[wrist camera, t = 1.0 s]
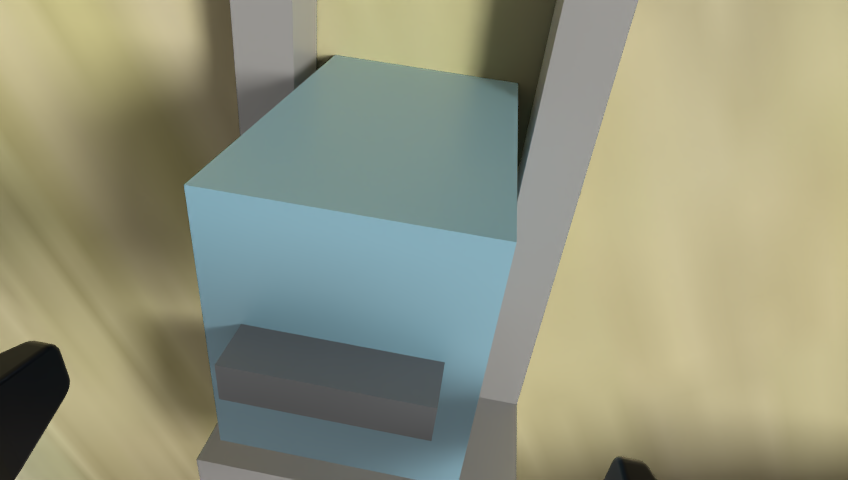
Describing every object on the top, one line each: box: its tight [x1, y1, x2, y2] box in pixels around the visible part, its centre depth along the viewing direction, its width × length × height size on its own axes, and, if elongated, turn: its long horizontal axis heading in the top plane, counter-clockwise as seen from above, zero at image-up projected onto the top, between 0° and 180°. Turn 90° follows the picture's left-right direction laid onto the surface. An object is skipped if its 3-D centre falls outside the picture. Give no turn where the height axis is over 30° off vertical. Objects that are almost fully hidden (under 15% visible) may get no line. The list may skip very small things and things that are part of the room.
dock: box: [197, 0, 638, 480], centre depth 15 cm, size 9×18×7 cm, turn 174°
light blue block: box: [184, 55, 518, 480], centre depth 13 cm, size 5×6×9 cm
